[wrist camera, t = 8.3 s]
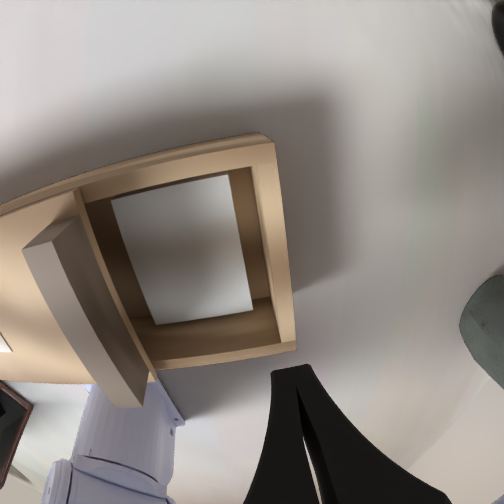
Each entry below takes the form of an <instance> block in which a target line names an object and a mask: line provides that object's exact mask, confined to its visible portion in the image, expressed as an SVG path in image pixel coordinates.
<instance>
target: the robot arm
mask: <svg viewBox="0 0 504 504" xmlns="http://www.w3.org/2000/svg"><path fill="white" fill-rule="evenodd" d="M270 374H271V406H270V413H269V420H268V427H267V432H266V436H265V441H264V445H263V449H262V453H261V457H260V460H259V463H258V467H257V470H256V473H255V476H254V478H253V481H252V484H251V486H250V489H249V491H248V494H247V496H246V499H245V501H244V503H243V504H319V500H318V496H317V493H316V489H315V485H314V481H313V478H312V474H311V470H310V466H309V462H308V458H307V454H306V450H305V446H304V441H305V444H306V447H307V450H308V453H309V456H310V459H311V462H312V465H313V467H314V471H315V474H316V478H317V482H318V486H319V491H320V495H321V500H322V504H452V503H451V501H450V500H449V498H448V497H447V496H446V494H445V493H443V492H442V491H440V490H438V489H436V488H434V487H432V486H430V485H428V484H427V483H425V482H423V481H421V480H420V479H418V478H416V477H415V476H413V475H412V474H410V473H409V472H407V471H406V470H404V469H403V468H402V467H400V466H399V465H397V464H396V463H395V462H393V461H392V460H391V459H389V458H388V457H387V456H386V455H384V454H383V453H382V452H381V451H380V450H379V449H377V448H376V447H375V446H374V445H373V444H372V443H371V442H370V441H369V440H368V439H366V438H365V437H364V436H363V435H362V434H361V433H360V432H359V430H358V429H357V428H356V427H355V426H354V425H353V424H352V423H351V422H350V421H349V420H348V418H347V417H346V416H345V415H344V414H343V413H342V411H341V410H340V409H339V408H338V406H337V405H336V404H335V403H334V401H333V400H332V399H331V397H330V396H329V395H328V393H327V392H326V390H325V389H324V387H323V386H322V384H321V383H320V381H319V380H318V378H317V376H316V375H315V373H314V371H313V369H312V367H311V365H309V364H304V365H300V366H295V367H290V368H285V369H280V370H274V371H272V372H271V373H270ZM82 385H83V386H84V387H85V389H86V390H87V391H88V392H89V396H88V399H87V402H86V405H85V409H84V412H83V415H82V419H81V422H80V426H79V429H78V433H77V437H76V441H75V445H74V448H73V452H72V457H71V459H70V460H69V461H68V460H66V459H63V458H62V459H60V460H59V461H56V462H54V463H53V464H52V466H51V469H50V471H49V474H48V477H47V480H46V483H45V487H44V491H43V496H42V502H41V504H176V503H175V501H174V500H173V499H172V498H171V497H169V496H167V495H166V493H167V485H168V483H169V482H170V480H171V478H172V475H173V467H174V447H175V430H176V427H180V426H184V425H185V421H184V420H183V418H182V417H181V415H180V414H179V412H178V410H177V409H176V407H175V406H174V404H173V402H172V401H171V399H170V397H169V396H168V394H167V392H166V391H165V389H164V387H163V386H162V384H161V382H160V380H159V379H158V377H157V378H156V382H147V386H146V392H145V398H144V403H143V407H128V408H115V407H114V405H113V404H112V403H111V402H110V400H109V399H108V398H107V397H106V395H105V394H104V393H103V391H102V390H101V389H100V387H99V386H98V385H97V384H82ZM303 438H304V441H303ZM491 504H504V495H502V496H501V497H500V498H498V499H497V500H496V501H494V502H493V503H491Z"/></svg>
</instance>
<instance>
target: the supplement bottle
mask: <svg viewBox="0 0 504 504" xmlns="http://www.w3.org/2000/svg"><path fill="white" fill-rule="evenodd" d="M492 25H493V30H494V34H495V37H496V40H497V42H498V45H499V47H500V49H501V51H502V53H503V55H504V2H500V3H498V4H496V5H495V7H494V9H493V12H492Z"/></svg>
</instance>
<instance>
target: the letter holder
mask: <svg viewBox="0 0 504 504" xmlns="http://www.w3.org/2000/svg"><path fill="white" fill-rule="evenodd" d="M32 410H33V405H31V404H30V403H29V402H27V401H26V400H25V399H23V398H22V397H21V396H19V395H18V394H17V393H15V392H14V391H13V390H12V389H10V388H9V387H8V386H7V385H5V384H4V383H3V382H2V381H1V380H0V489H2V487H3V486H4V483H5V481H6V477H7V474H8V472H9V469H10V466H11V463H12V461H13V458H14V455H15V452H16V449H17V447H18V444H19V441H20V439H21V436H22V434H23V431H24V428H25V426H26V423H27V421H28V419H29V416H30V414H31V412H32Z"/></svg>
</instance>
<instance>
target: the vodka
mask: <svg viewBox="0 0 504 504" xmlns="http://www.w3.org/2000/svg"><path fill="white" fill-rule="evenodd" d="M459 327H460V332H461V335H462V337H463V340H464V343H465V344H466V346H467V348H468V349H469V351H470V353H471V355H472V356H473V358H474V360H475V361H476V362H477V363H478V364H479V365H480V366H481V367H482V368H483V369H484V370H485V371H486V372H487V373H488V374H489V375H490V376H491V377H492V378H493V379H494V380H495V381H496V382H497V383H498V384H499V385H500V386H501V387H502V388H503V389H504V276H502V275H500V276H495V277H493V278H491V279H489V280H487V281H486V282H485V283H484V284H483V285H482V286H481V287H479V289H478V290H477V291H476V292H475V293H474V295H473V296H472V297H471V299H470V300H469V302H468V303H467V305H466V307H465V309H464V311H463V313H462V316H461V319H460V324H459Z"/></svg>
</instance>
